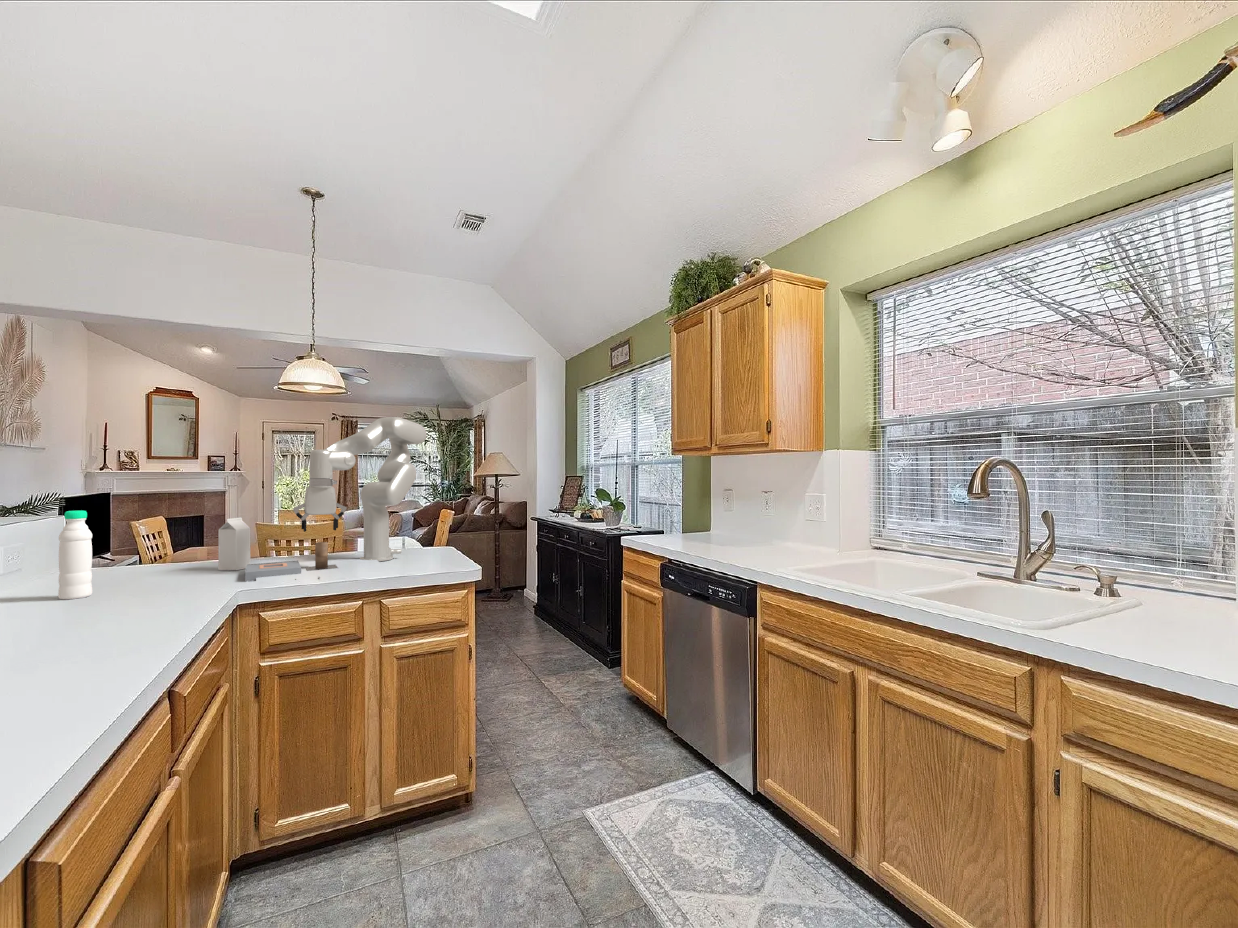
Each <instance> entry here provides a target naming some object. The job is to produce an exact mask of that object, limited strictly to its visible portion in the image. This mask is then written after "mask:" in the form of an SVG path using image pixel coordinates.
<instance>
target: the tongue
mask: <svg viewBox="0 0 1238 928" xmlns="http://www.w3.org/2000/svg"><path fill="white" fill-rule="evenodd" d="M304 567H305V570H306V571H307V572H311V571H321V570H332V569H335V570H336V569H339V567H338V566H337V564H328V567H327V568H315V565H314V566H304Z"/></svg>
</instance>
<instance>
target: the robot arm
mask: <svg viewBox="0 0 1238 928" xmlns="http://www.w3.org/2000/svg"><path fill="white" fill-rule="evenodd" d="M388 439H389V444H390V454H389V455H388V457H387V458H386V459H385V460H384V462H383V463H382V465H381V466H380V468H379V470H378V472H377V475H376V476H377V477H376V478H377V481H370V482H367V483H366V484H364V485H363V487H362V488H361V490H360V501H361V504H362V512H363V556H360V557H359V560H363V561H377V562H386V561H387V562H388V561H391V560H393V559H394V555H395V554H396V555H398V554H399V555H401V554H402V553H403V552H402V548H394V549H393V548H391V547H390V514H389V512H388V509H387V507H388V506H392V507H393V506H397V505H399V504H400V503H401V502H403V500H404V499H405V497H406V495H407V494H408V492H409V491H410V489H411V488H412V486H413V484H414V482H415V480H416V477H417V469H416V467H415V466H414V465H413V464H412V463H410V462H411V453H410V451H409V447H408V445H409V446H410V445H420V444H422V443H423V442H425V441H426V439H427V430H426V429H425V427H424V426H423V425H421V424H419V423H417V422H414V421H412V420H408V419H406V418H403V417H399V416H389V417H388V416H387V417H379V418H377V419H375V420H374V421H373V422H371V423H370V424H368V425H367V426H365V427H364V428H363V429H361V430H360V431H358V432H356V433H354V434H352V435H350V436H348V437H345V438H342V439H340V440H338V441H336V442H334V443H332V444H331V445H329V446H328V447H326V448H324V449H312V450H311V451H310V453H309V474H308V477H309V479H308V481H309V482H308V483H309V484H308V486H309V487H306V489H305V494H304V503H302V504H301V503H300V504H299V505H297V506H295V507H293V508H292V511H293V512H294V514H295V516H296V517H298V518H299V520H301V526H300V527H301V530H303V532H307V518H308V517H309V516H321V515H322V516H325V515H326V516H327V515H331V516H332V517H333V520H332V521H333V525H332V529H333V531H337V529H338V528H339V520H340V518H342V517H343V515H344V514H345V512H346V511H347V509H348V507H347V506H345V505H342V504H340V503H339V502H337V499H336V498H337V496H336V489H335V487H333V486H334V485H338V480H335V479H333V474H334V473H333V471H349V470H350V469H352V468H353V467H354V466H355V465H356V461H357V460H356V456H357V455H362V454H364V453H368V452H370V451H372V450H374V449H375V448H377V447H378V446H380V445H381V444H382V443H383V442H384V441H386V440H388ZM337 508H339V509H341V510H340V512H339V513H338V514H337V513H336V512H337ZM301 509H303V512H304V513H303V514H301V513H300V512H299V510H301Z"/></svg>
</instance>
